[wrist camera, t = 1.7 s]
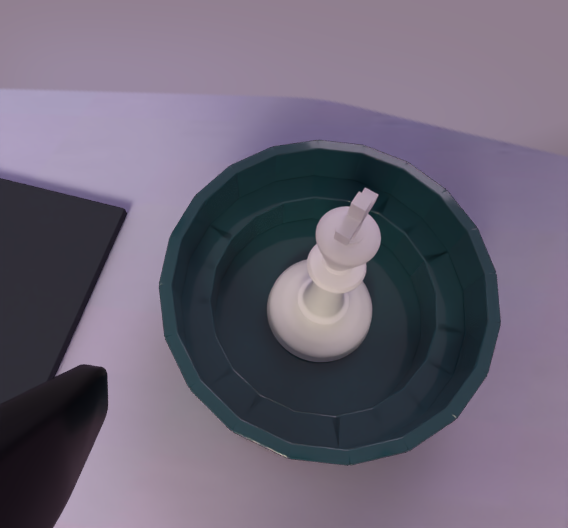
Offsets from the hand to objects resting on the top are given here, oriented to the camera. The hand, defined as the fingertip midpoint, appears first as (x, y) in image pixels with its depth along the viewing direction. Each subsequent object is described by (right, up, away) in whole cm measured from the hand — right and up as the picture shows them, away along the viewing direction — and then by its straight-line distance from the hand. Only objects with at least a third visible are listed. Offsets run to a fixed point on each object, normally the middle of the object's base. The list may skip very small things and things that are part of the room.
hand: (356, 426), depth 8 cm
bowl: (0, +1, +14) cm, 14 cm away
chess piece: (0, +1, +13) cm, 13 cm away
